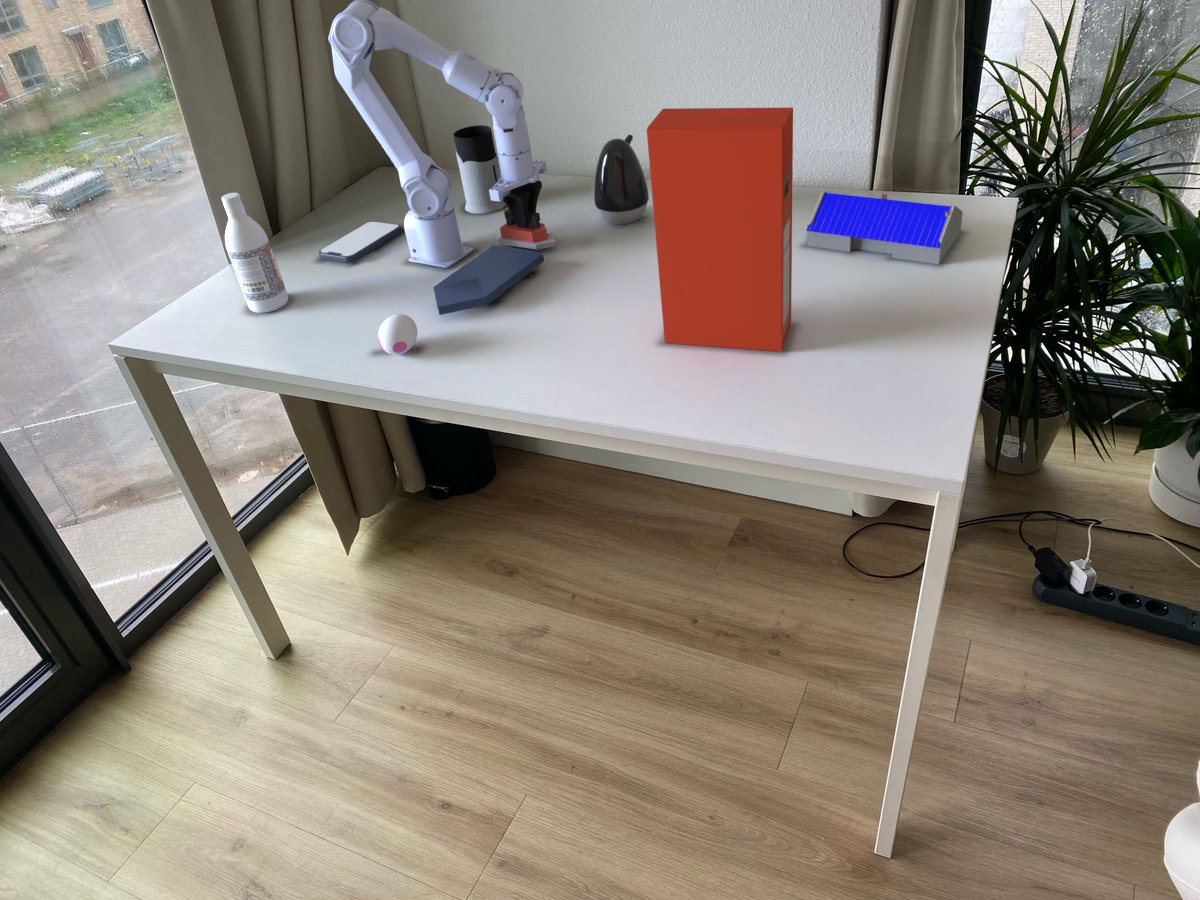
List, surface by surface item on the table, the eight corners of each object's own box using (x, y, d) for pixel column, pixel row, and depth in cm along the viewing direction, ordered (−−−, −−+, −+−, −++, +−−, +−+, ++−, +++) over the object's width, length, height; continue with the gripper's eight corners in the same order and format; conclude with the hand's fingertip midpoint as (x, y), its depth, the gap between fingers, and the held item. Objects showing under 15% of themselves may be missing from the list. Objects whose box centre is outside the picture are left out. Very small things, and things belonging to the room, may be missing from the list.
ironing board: (416, 317, 154) (411, 301, 152) (496, 260, 168) (493, 244, 166) (468, 329, 148) (464, 312, 147) (546, 268, 163) (543, 252, 161)
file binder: (781, 353, 132) (782, 127, 113) (664, 344, 138) (646, 127, 119) (791, 325, 138) (793, 106, 119) (678, 318, 143) (663, 107, 125)
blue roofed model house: (961, 231, 156) (966, 189, 152) (937, 266, 147) (942, 222, 143) (835, 215, 167) (836, 176, 163) (805, 247, 158) (806, 206, 154)
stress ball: (400, 357, 150) (369, 328, 147) (434, 329, 147) (403, 299, 144) (389, 381, 144) (356, 351, 141) (424, 352, 141) (391, 321, 138)
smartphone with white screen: (371, 227, 188) (317, 260, 177) (369, 220, 187) (314, 252, 176) (405, 232, 184) (352, 265, 173) (403, 224, 183) (349, 257, 172)
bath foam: (292, 306, 162) (254, 196, 150) (252, 318, 160) (211, 207, 148) (285, 291, 168) (248, 184, 156) (246, 302, 165) (205, 195, 154)
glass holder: (471, 197, 195) (456, 125, 186) (537, 194, 192) (525, 120, 183) (460, 214, 188) (444, 140, 179) (528, 211, 185) (516, 135, 176)
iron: (499, 243, 170) (493, 214, 167) (514, 232, 174) (510, 204, 170) (548, 251, 165) (543, 222, 162) (563, 240, 168) (559, 210, 165)
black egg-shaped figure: (660, 211, 178) (654, 131, 169) (633, 233, 171) (625, 151, 162) (615, 205, 183) (607, 127, 174) (586, 226, 176) (576, 146, 167)
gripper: (508, 167, 153) (521, 243, 161) (556, 137, 162) (566, 211, 170) (474, 163, 156) (488, 238, 164) (523, 134, 166) (534, 207, 174)
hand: (526, 224), depth 168 cm, fingers closed on iron
